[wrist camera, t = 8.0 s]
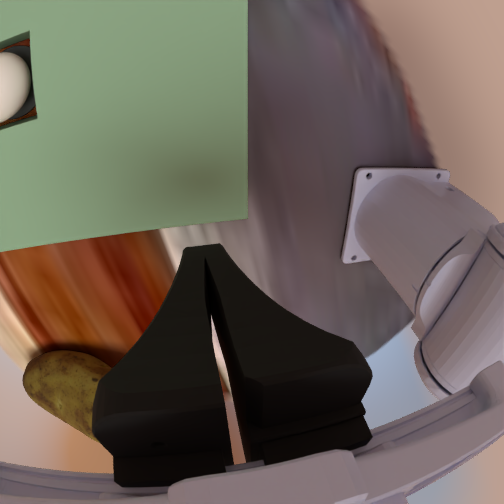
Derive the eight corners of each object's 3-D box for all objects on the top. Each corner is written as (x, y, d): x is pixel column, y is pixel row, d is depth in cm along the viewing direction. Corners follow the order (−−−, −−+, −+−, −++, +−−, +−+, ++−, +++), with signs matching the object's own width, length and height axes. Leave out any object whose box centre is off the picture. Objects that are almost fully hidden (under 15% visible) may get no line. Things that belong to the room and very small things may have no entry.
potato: (32, 316, 22) (8, 394, 16) (165, 358, 28) (170, 435, 22) (27, 367, 26) (13, 433, 19) (139, 399, 31) (142, 464, 25)
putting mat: (238, -47, 12) (247, -60, 10) (240, 200, 21) (248, 218, 19) (-61, 33, 8) (-83, 36, 6) (-22, 239, 17) (-36, 258, 15)
